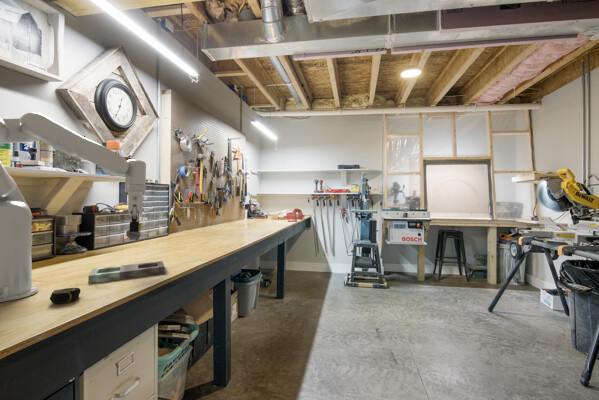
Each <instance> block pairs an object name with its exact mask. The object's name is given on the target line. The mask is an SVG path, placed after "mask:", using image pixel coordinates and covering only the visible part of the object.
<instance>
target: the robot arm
mask: <svg viewBox="0 0 599 400" xmlns="http://www.w3.org/2000/svg"><path fill="white" fill-rule="evenodd" d="M31 142H41V143H42V144H43V143H44V144H45V145H48V146H50V147H52V148H54V149H55V150H58V151H59V152H61V153H63V154H65V155H67V156H70V157H73V158H77V159H81V160H85V161H87V162H90V163H92V164H94V165H96V166H97V167H100V168H101V169H102V171H103V173H104V174H105V175H108V176H110V177H124V193H127V194H128V195H127V207H128V208H127V211H128V215H129V216H130V222H129V229H130V232H138V231H139V224H140V221H139V215H140V216H142V215H143V205H144V204H143V202H144V199H143V198H144V197H143V193H144V194H145V193H146V183H147V180H146V177H147V173H146V172H147V164H146V162H145V161H143V160H138V159H128V160H127V159H126V158H125V157H124V156H122V155H120V154H119V153H116V152H115V151H114V150H112V149H110V148H108V147H106V146H104V145H102V144H100V143H98V142H95V141H93V140H91V139H89V138H87V137H84V136H82V135H81V134H78V133H77V132H75V131H73V130H72V129H69V128H68V127H66V126H64V125H62V124H60V123H59V122H57V121H55V120H54V119H52V118H51V117H48V116H46V115H44V114H42V113H40V112H32V111H31V112H26V113H25V114H23V115H22V116H20V118H1V117H0V145H2V144H16V143H17V144H18V143H20V144H21V143H31ZM32 221H33V215H32V211H31V208H30V206H29V205H28V203H27V201H26V199H25V198H24V196H23V194H22V192H21V191H20V188H19V187H18V185H17V182H16V181H15V180H14V178H13V177H12V176H11V175H10V174H9V172H7V170H6V168H5V166H4V165H3V162H2V161H1V160H0V303H4V302H10V301H14V300H19V299H23V298H27V297H30V296H33V295H35V294H36V293H38V291H39V287H38V286H34V285H32V284H33V283H32V281H33V280H32V276H33V273H32V272H33V270H32V269H33V267H32V264H33V263H32V262H33V261H32V249H33V248H32V223H33V222H32Z"/></svg>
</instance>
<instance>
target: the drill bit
mask: <svg viewBox="0 0 599 400" xmlns="http://www.w3.org/2000/svg"><path fill="white" fill-rule="evenodd" d="M141 229H142V222H139V231H138V232H130V228H128V229H127V230H126V233H125V235H126V237H127V238H128V239H129V241H134V240H135V241H136V240H138V239H140V237H141V231H142V230H141Z"/></svg>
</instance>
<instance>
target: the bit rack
mask: <svg viewBox="0 0 599 400" xmlns="http://www.w3.org/2000/svg"><path fill="white" fill-rule="evenodd" d="M165 272H166V269H165V264H164V262H163V261H162V260H160V261H152V262H151V261H150V262H141V263H133V264H132V263H131V264H124V265H123V264H122V265H115V266H114V265H113V266H105V267H98V268H97V267H96V268H95V267H94V268H92V269H91V271H90V273H89V275H88V278H87V279H88V283H87V284H88V285H90V284H96V283H97V284H98V283H103V282H111V281H119V280H127V279H133V278H142V277H149V276H156V275H164V274H165Z"/></svg>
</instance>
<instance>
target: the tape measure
mask: <svg viewBox="0 0 599 400" xmlns="http://www.w3.org/2000/svg"><path fill="white" fill-rule="evenodd" d="M80 294H81V288H80V287H67V288H61V289H60V288H59V289H55V290H53V291H52V293H51V295H50V297H49V301H51V304H66V303H70V302H72V301H75V300H77V299H78V298H79V297H80Z"/></svg>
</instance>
